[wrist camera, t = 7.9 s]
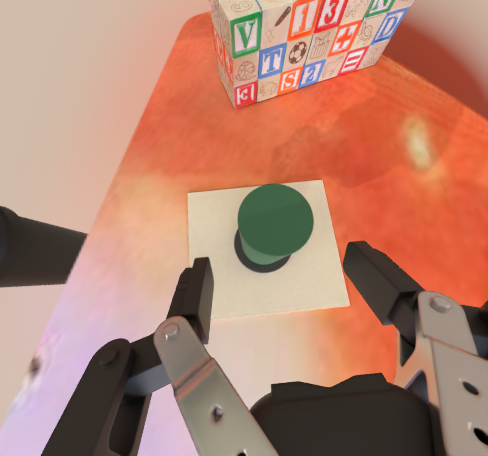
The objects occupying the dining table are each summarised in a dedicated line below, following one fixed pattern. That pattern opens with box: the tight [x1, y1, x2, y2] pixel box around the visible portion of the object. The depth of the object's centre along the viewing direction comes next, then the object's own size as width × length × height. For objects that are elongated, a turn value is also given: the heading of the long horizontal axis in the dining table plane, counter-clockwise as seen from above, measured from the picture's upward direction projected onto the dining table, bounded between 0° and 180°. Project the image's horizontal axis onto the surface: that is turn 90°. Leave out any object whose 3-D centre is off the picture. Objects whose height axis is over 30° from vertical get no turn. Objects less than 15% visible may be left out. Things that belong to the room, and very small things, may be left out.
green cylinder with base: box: [234, 184, 314, 273], centre depth 16 cm, size 6×6×10 cm
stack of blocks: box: [209, 0, 414, 109], centre depth 21 cm, size 21×6×12 cm, turn 111°
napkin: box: [187, 180, 350, 320], centre depth 21 cm, size 16×14×1 cm
